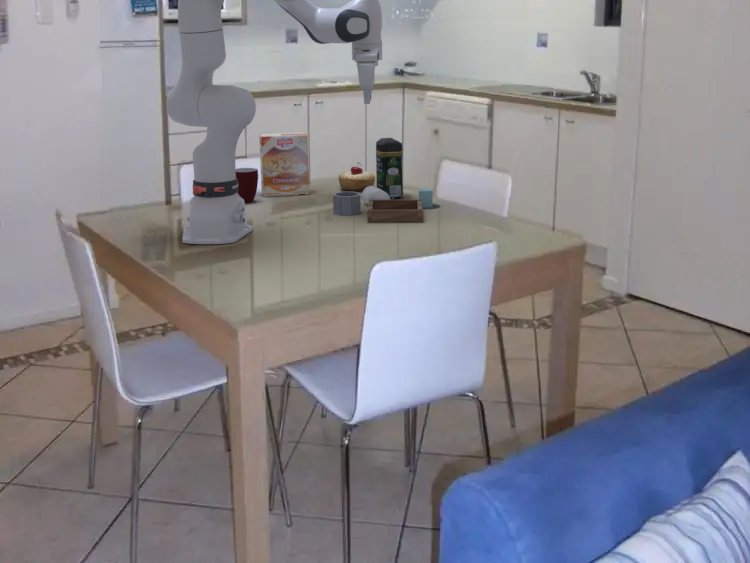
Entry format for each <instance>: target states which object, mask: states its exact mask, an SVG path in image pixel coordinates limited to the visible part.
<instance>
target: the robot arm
mask: <svg viewBox="0 0 750 563" xmlns="http://www.w3.org/2000/svg"><path fill="white" fill-rule="evenodd" d="M224 1H225V0H177V21H178V22H177V23H178V24H177V25H178V32H179V33H178V34H179V40H180V49H181V50H180V51H181V70H180V74H179V78H178V80H177V82H176V84H175V85H174V87H173V88H171V90H170V91H169V93H168V94H167V96H166V101H165V107H166V111H167V114H168V116H169V118H170V119H171V120H172V121H173V122H175V123H178V124H181V125H184V126H188V127H200V128H206V136H205V139H204V141H202V142H201V143H199V144H198V145H197V146H196V147H195V148H194V149H193V152H192V165H193V178H194V179H193V180H192V195H193V197H191V199H190V200H189V203H190V205H189V206H190V207H189V208H190V209H189V216H187V222H189V225H186V226H184V227H183V232H182V239H181V240H182V241H181V242H182V243H183V244H192V245H221V244H222V245H223V244H225V245H226V244H231V243H235V242H238V241H239V240H241V239H242V238H244V237H245V236H246V235H248V234H249V233H252V232H253V230H254V227H253V225H249V224H247V213H246V203H245V202H244V200H243V199H242V198H241V197H240V196H239V194H238V193H237V192H238V179H237V178H236V169H237V168H236V149H237V145H238V141H239V139H240V137H241V134H242V133H243V131H244V130H245V128H247V127H248V125H250V124H251V123H252V122H253V120H254V118H255V115H256V110H257V104H256V100H255V98H254V96H253V94H252V92H250V90H248V89H246V88H243V87H239V86H235V85H225V84H223V85H222V84H221V85H220V84H214V83H213V80H214V79H213V78H214V73H215V71H216V70H217V69H219V68H220V67H221V66H223V65H224V63H225V62H226V59H227V57H226V56H227V53H226V45H225V36H224V35H225V34H224V26H223V20H222V6H223V3H224ZM273 1H274V2H275V3H276V4H277V5H278V6H279V7H280V8H281V9H283V11H285V13H287V14H288V15H290V16H291V17H292V18H294V20H296V21H297V22H298V23H299V24H300V25H301V26H302V27H303V28H304V29H305V31H306V33H307V35H308V36H309V38H310V39H311V40H312V42H315V43H317V44H320V45H325V44H350V43H351V58H352V59H351V60H352V61H354V62H355V63H356V64H355V65H356V68H357V75H358V82H359V83H358V84H359V88H360V89H361V90H362V92H363V103H364V105H369V104H371V101H372V90H373V88H374V84H375V79H376V76H375V71H376V67H378V66H379V61H382V60H383V41H382V40H383V39H382V37H381V36H382V35H381V34H382V29H383V17H382V16H383V15H382V7H381V3H380V0H350V1H349V2H348V3H346V4H344V5H342V6H341V7H334V8H332V7H331V8H328V7H319V6H316V5H314V4H313V3H312V2H311V1H309V0H273Z"/></svg>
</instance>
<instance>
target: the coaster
mask: <svg viewBox="0 0 750 563" xmlns="http://www.w3.org/2000/svg"><path fill="white" fill-rule="evenodd" d="M439 208H441V205H440V204H437V203H433V208H422V211H423V210H436V209H439Z"/></svg>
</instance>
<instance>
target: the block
mask: <svg viewBox="0 0 750 563" xmlns="http://www.w3.org/2000/svg"><path fill="white" fill-rule="evenodd" d="M433 197H434V196H433V188H418V199H421V202H422V208H433V204H434V202H433Z"/></svg>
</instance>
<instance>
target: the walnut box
mask: <svg viewBox="0 0 750 563" xmlns="http://www.w3.org/2000/svg"><path fill="white" fill-rule="evenodd" d="M366 213H367V215H366V218H367V222H366V223H367V224H375V223H376V224H388V223H389V224H393V223H399V224H405V223H407V224H411V223H412V224H413V223H418V224H419V223H423V210H422V202H421V199H419V198H418V199H415V198H414V199H411V198H410V199H390V200H369V204H368V205H367V210H366Z"/></svg>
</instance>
